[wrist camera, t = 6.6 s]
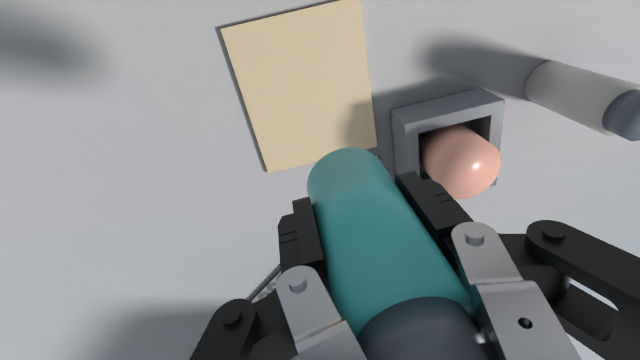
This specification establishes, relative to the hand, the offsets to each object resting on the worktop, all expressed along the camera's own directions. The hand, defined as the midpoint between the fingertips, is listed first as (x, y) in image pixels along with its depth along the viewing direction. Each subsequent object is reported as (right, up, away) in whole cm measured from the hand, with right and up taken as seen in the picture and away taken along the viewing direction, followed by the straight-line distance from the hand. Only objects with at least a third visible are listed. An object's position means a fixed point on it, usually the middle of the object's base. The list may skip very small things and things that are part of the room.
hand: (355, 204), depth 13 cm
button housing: (+9, +5, +17) cm, 20 cm away
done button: (+10, +4, +15) cm, 18 cm away
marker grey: (+18, +10, +16) cm, 26 cm away
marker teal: (0, +1, +2) cm, 2 cm away
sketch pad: (-2, +8, +13) cm, 15 cm away
